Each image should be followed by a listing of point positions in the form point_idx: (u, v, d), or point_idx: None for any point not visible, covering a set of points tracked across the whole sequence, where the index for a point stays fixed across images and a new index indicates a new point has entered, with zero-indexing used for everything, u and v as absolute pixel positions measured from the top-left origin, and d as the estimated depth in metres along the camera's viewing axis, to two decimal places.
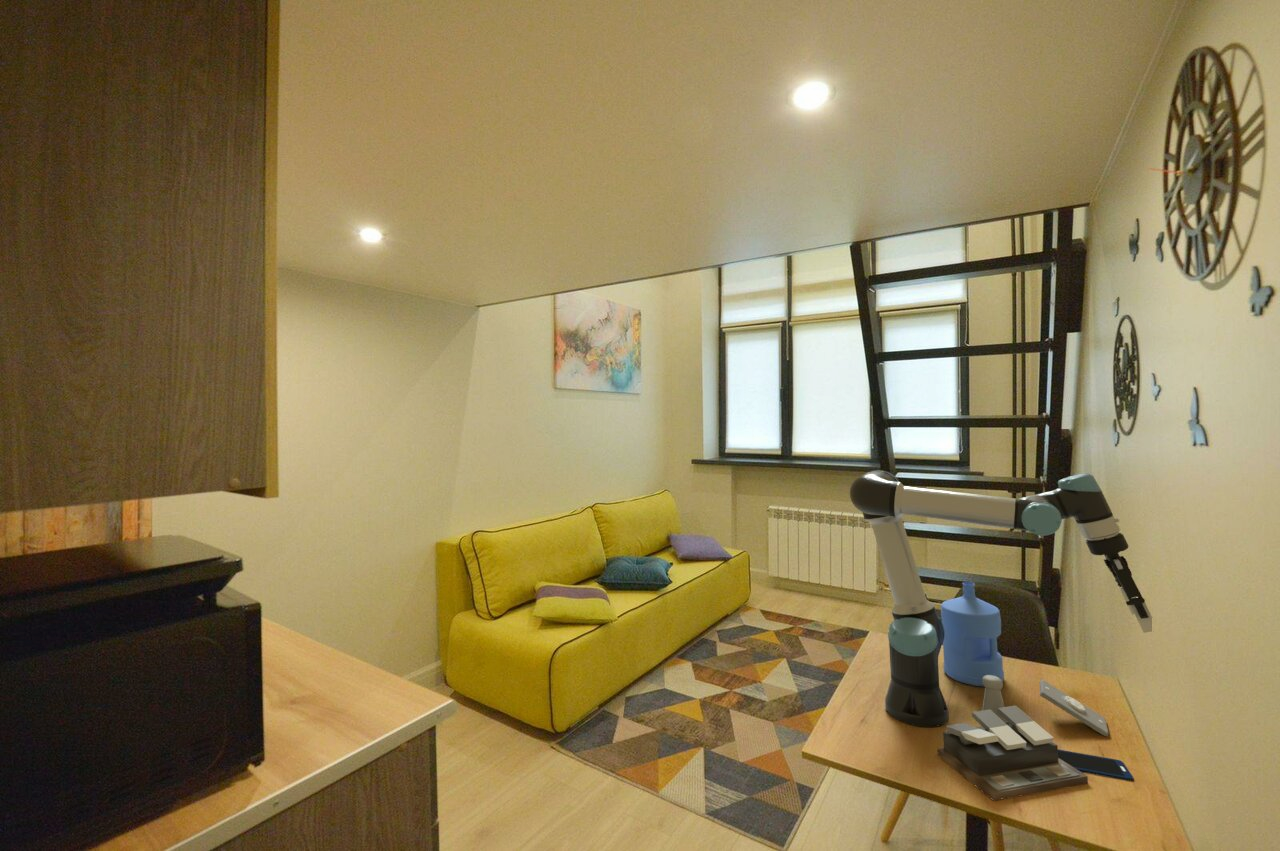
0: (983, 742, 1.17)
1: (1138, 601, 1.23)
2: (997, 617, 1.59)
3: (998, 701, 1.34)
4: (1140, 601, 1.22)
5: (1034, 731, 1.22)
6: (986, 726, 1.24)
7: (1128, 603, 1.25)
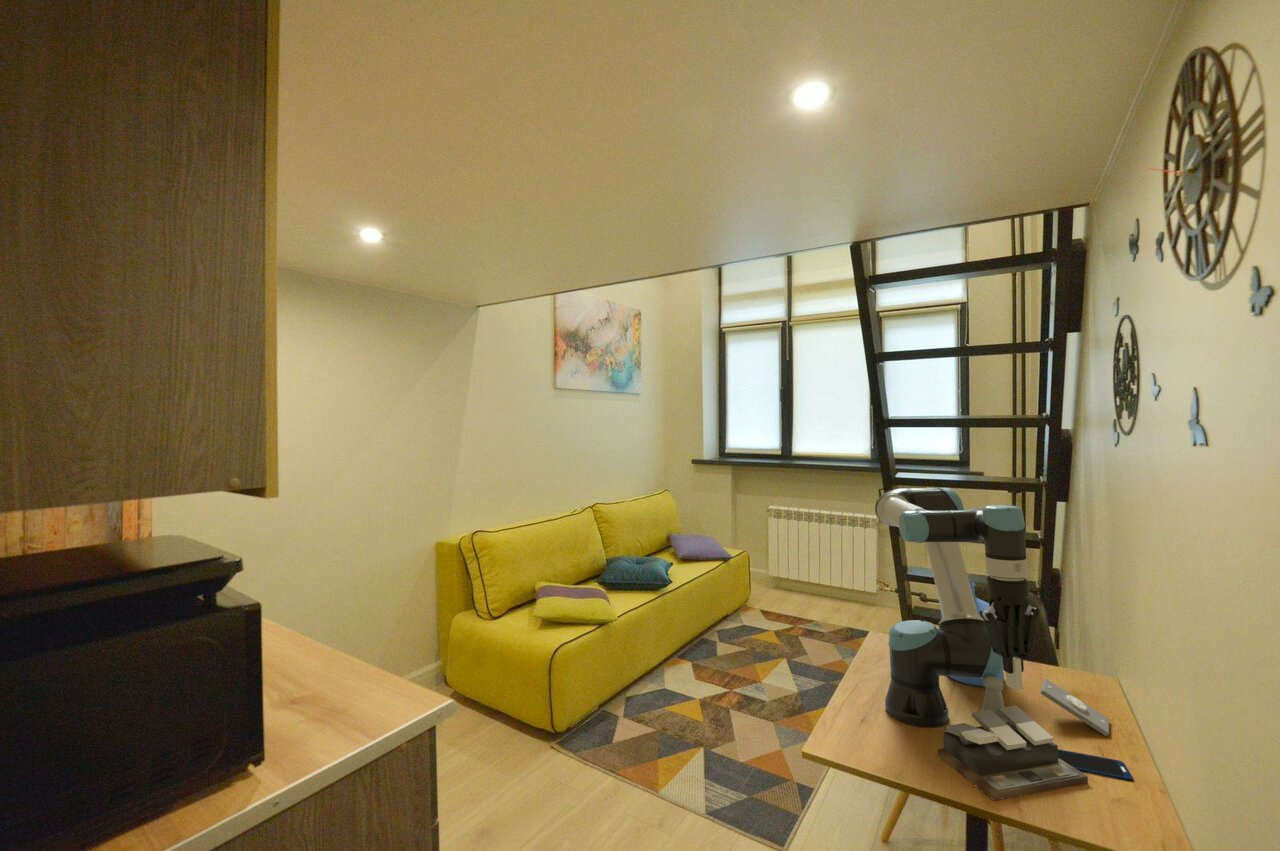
0: (983, 742, 1.17)
1: (997, 652, 1.17)
2: None
3: (998, 702, 1.34)
4: (999, 653, 1.16)
5: (1034, 731, 1.22)
6: (986, 726, 1.24)
7: None
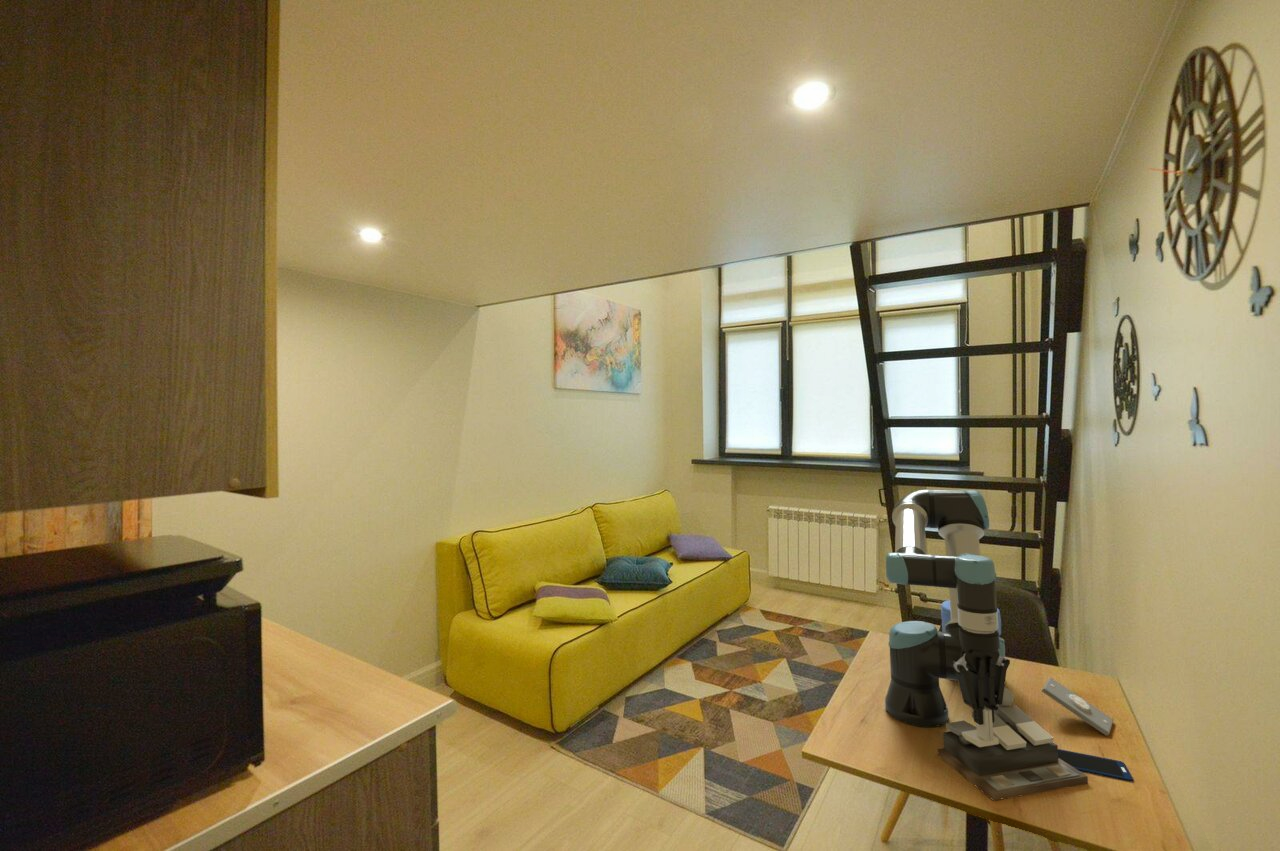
0: (984, 745, 1.17)
1: (968, 704, 1.17)
2: None
3: None
4: (969, 705, 1.17)
5: (1034, 731, 1.22)
6: None
7: None
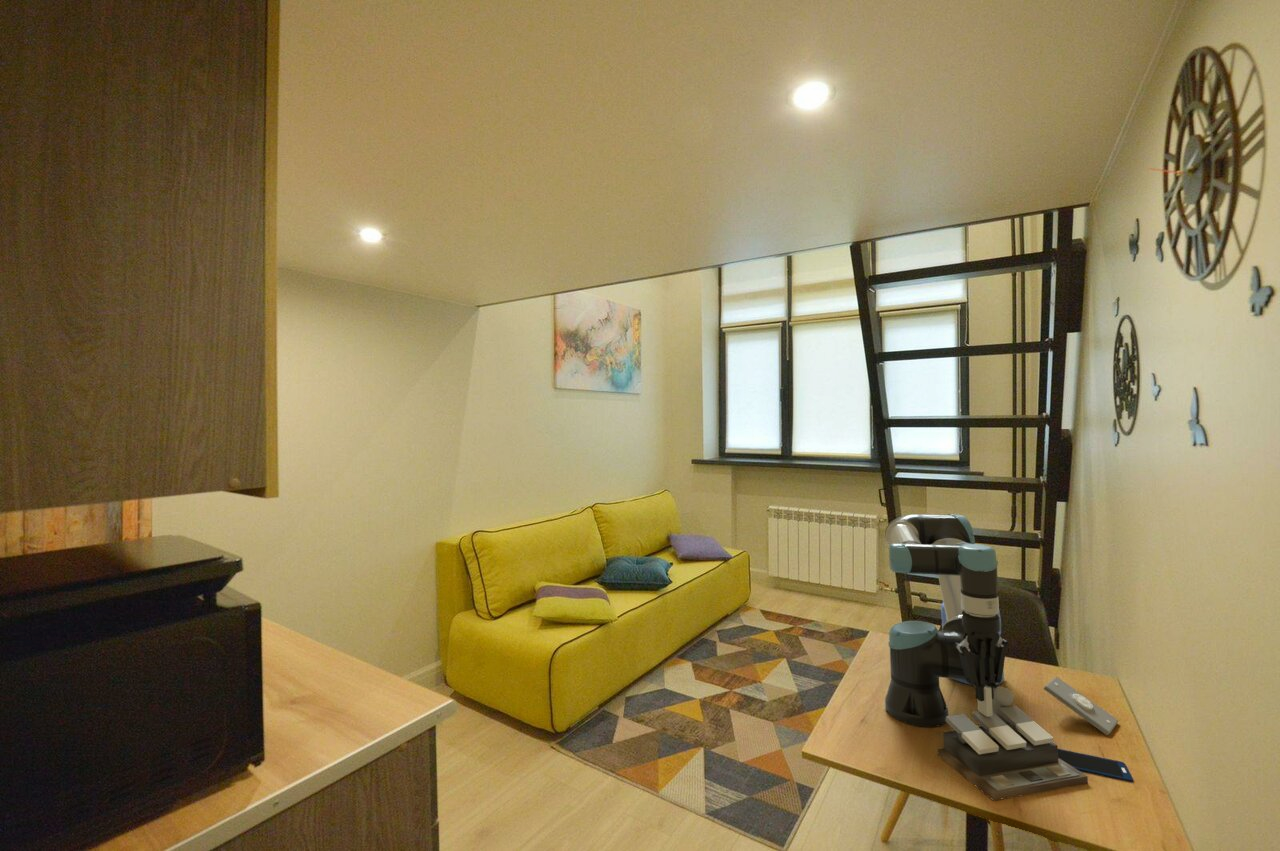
0: (983, 752, 1.17)
1: (970, 682, 1.26)
2: None
3: None
4: (971, 683, 1.26)
5: (1034, 731, 1.22)
6: (986, 726, 1.24)
7: None
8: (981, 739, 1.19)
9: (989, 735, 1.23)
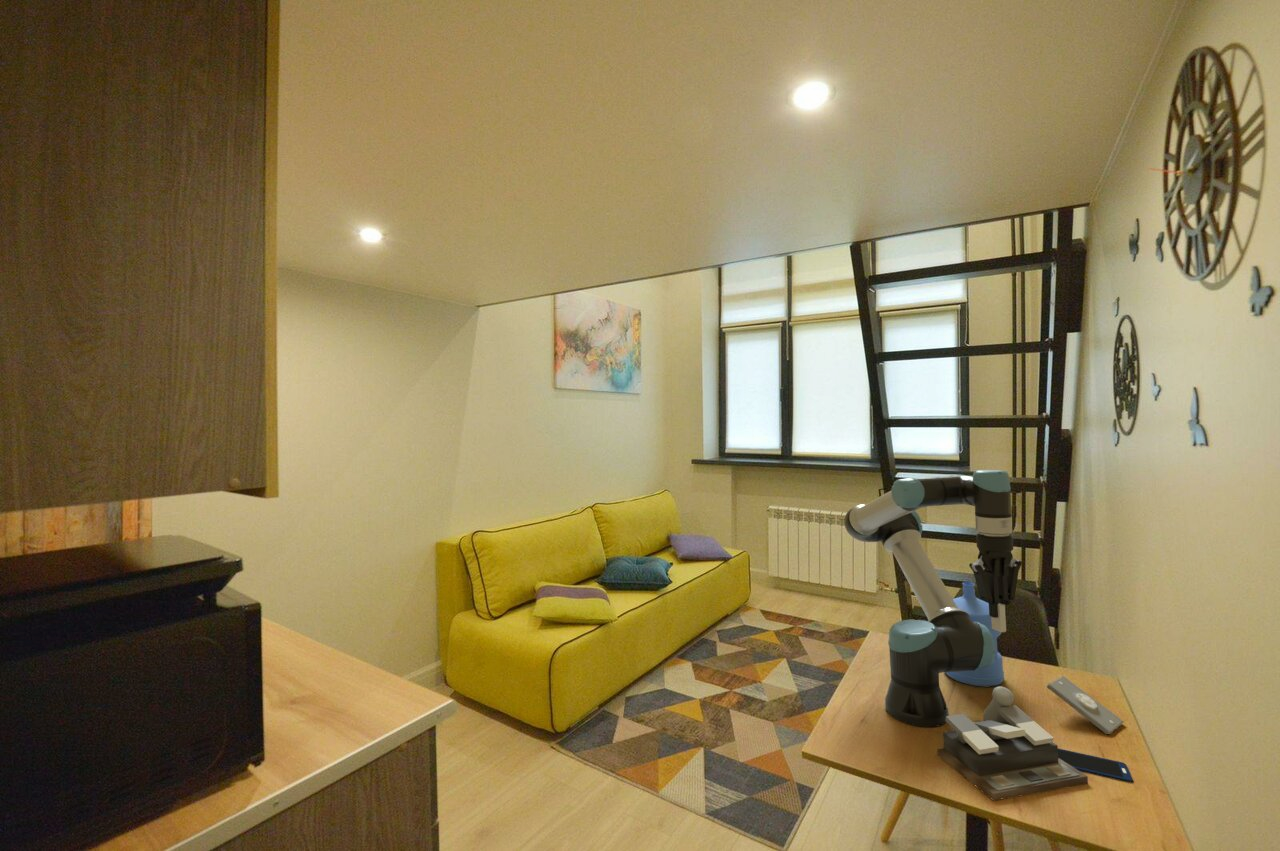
0: (983, 752, 1.17)
1: (985, 600, 1.32)
2: None
3: None
4: (986, 600, 1.31)
5: (1034, 731, 1.22)
6: (986, 728, 1.24)
7: None
8: (981, 739, 1.19)
9: (991, 735, 1.22)
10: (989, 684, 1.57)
